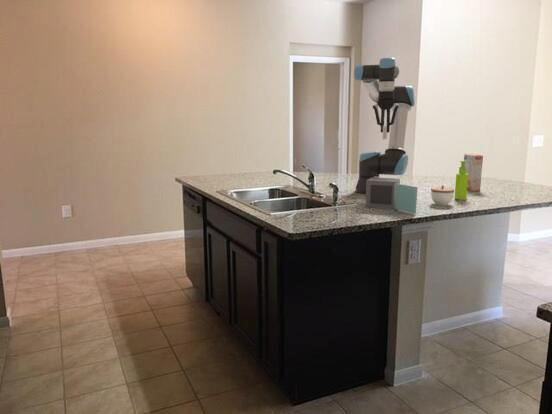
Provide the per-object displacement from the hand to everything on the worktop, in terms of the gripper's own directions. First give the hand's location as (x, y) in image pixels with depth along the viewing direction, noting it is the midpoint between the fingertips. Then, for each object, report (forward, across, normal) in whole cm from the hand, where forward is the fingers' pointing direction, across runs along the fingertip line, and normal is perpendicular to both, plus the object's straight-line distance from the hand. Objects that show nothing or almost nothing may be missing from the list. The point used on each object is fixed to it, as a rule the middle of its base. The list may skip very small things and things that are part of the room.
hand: (384, 139), depth 236 cm
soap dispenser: (+33, +37, +24) cm, 55 cm away
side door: (+31, +14, -23) cm, 41 cm away
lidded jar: (+32, +29, +2) cm, 43 cm away
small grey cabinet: (+32, +3, -13) cm, 34 cm away
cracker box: (+34, +41, +59) cm, 80 cm away
